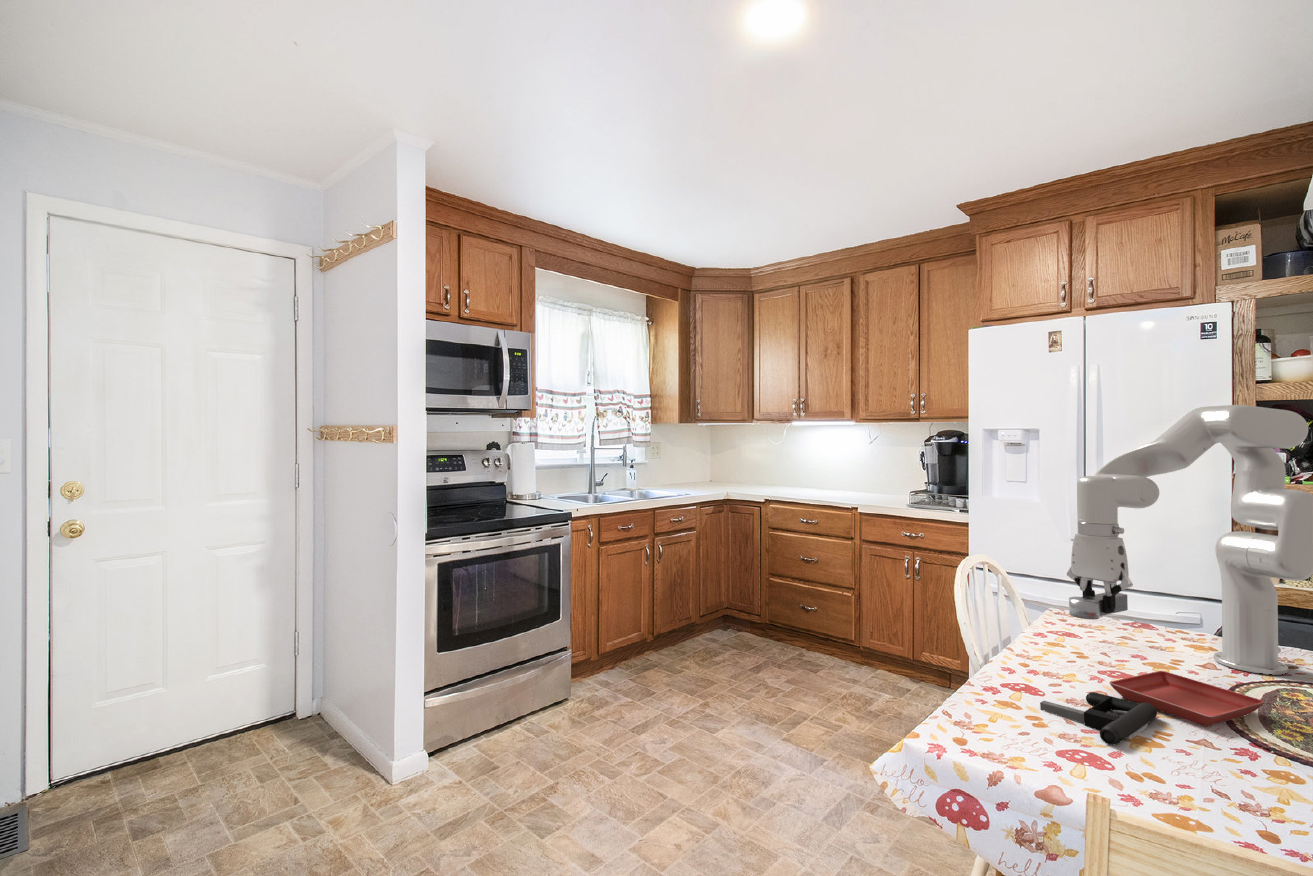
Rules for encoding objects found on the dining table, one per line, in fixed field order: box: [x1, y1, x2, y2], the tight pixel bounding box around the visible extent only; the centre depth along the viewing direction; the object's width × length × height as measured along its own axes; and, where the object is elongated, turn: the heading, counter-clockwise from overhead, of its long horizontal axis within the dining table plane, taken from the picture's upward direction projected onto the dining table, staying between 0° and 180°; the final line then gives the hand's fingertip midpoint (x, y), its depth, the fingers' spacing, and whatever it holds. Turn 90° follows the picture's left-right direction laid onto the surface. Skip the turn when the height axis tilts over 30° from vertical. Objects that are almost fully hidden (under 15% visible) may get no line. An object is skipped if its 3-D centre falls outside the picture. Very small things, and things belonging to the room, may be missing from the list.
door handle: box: [1039, 691, 1161, 746], centre depth 116 cm, size 3×20×16 cm
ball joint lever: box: [1068, 592, 1129, 620], centre depth 139 cm, size 16×6×4 cm, turn 115°
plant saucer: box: [1108, 670, 1266, 727], centre depth 122 cm, size 18×18×3 cm
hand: (1098, 609), depth 139 cm, fingers closed on ball joint lever, 3 cm apart
